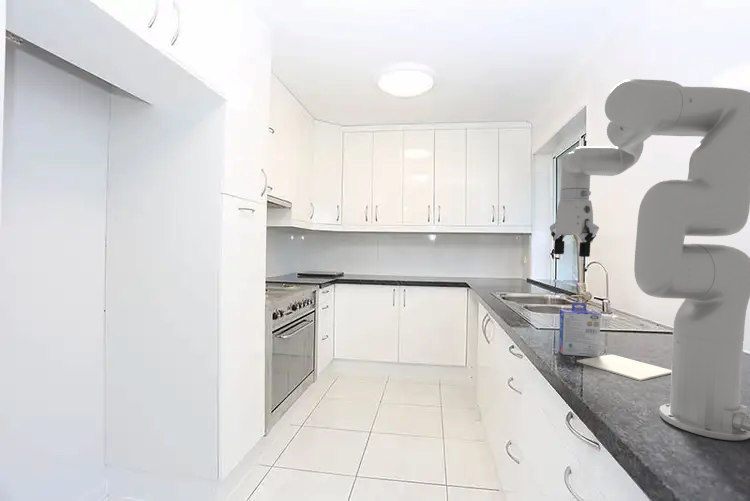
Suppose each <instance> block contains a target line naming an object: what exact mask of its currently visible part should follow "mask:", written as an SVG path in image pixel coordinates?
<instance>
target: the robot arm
mask: <svg viewBox="0 0 750 501" xmlns="http://www.w3.org/2000/svg"><path fill="white" fill-rule="evenodd" d="M604 112H605V116H606V118H607V119H608V120H609V122H608V124H607V127H606V135H607V138H608V139H609V141H610V142H611V144H612V145H614V146H613V147H612V146H587V145H585V146H578V147H575V148H574V149H573V150H571V152H567V153H565V154H564V155H563V156H562V159H561V173H560V174H561V176H560V177H561V178H560V190H559V191H560V193H559V202H558V203H557V204H558V206H557V209H556V215H555V216H556V217H555V222H554V223H553V224H551V225H550V226H549V230H550V235H551V237H552V240H553V241H554V242H553V244H554V245H553V247H554V248H553V254H554V255H565V254H564V253H565V241H564V239H565V238H566V237H567V236H578V237H579V239H580V242H579V252H578V256H579V257H581V258H583V257H584V258H588V257H590V256H591V243H593V241H594V239H595V238H596V237H597V233H598V231H599V229H600V227H599V226H598V225H596V224H595V223H594V213H593V211H594V210H593V203H592V201H591V200H590V196H591V195H592V192H591V191H590V186H591V176H599V177H600V176H602V177H603V176H604V177H606V176H607V177H613V176H618V175H620V174H622V173H624V172H626V171H627V170H629V169H631V168H632V167H633V166H634V165H636V164H637V163H638V162H639V160H640V157H641V156H642V153H643V150H644V142H645V141H646V140H648V139H649V138H650V137H652V136H670V137H702V139H701V140H700V142H699V143H698V144H697V145H696V147H695V148H694V149H693V151H692V153H691V155H690V157H689V163H688V174H687V179H668V180H663V181H659V182H658V183H656V184H654V185H652V186H651V187H650V188H649V189H648V190H647V191H646V192H645V194H644V196H643V198H642V200H641V202H640V205H639V209H638V215H637V226H636V227H637V228H636V239H635V250H634V267H633V269H634V278H635V282H636V284H637V286H638V288H639V289H640V290H641V291H642V293H644V294H646V295H648V296H650V297H653V298H662V299H679V300H680V299H684V300H683V302H682V303H681V305H680V306H679V308H678V310H677V312H676V314H675V315H674V320H673V328H672V329H673V331H672V346H671V347H672V348H671V350H672V351H671V368H670V370H671V374H670V392H669V394H670V395H669V403H665V404H662V405H660V407H659V408H658V414H659V417H661V419H662V420H664V421H665V423H668V424H670V425H671V426H673V427H675V428H679V429H681V430H682V431H686V432H689V433H692V434H695V435H699V436H702V437H707V438H711V439H716V440H722V441H723V440H724V441H745V440H748V439H750V414H749V413H748V406H747V405H744V404H741V390H742V371H743V354H744V353H743V351H744V350H743V349H744V341H745V339H744V338H745V327H746V326H745V324H746V317H747V316H746V315H747V309H748V305H749V300H750V256H749V255H748V254H746V253H745V252H743V251H742V250H740V249H738V248H736V247H732V246H728V245H724V244H711V243H709V244H708V243H707V244H706V243H684V242H685V237H724V236H726V237H727V236H731V235H735V234H737V233H738V232H739V233H740V231H741V230H743V229H744V227H745V226H746V224H747V221H748V218H749V214H750V92H749V91H747V90H743V89H737V88H731V87H713V86H683V85H682V84H680V83H677V81H676V82H675V81H671V80H664V79H662V80H661V79H643V78H642V79H641V78H640V79H639V78H638V79H637V78H630V79H625V80H623V81H621V82H619V83H618V84H616V85H615V86H614V87H613V88H612V90H611V91H610V92H609V93H608V96H607V97H606V100H605V102H604Z"/></svg>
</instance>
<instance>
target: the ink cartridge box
mask: <svg viewBox="0 0 750 501" xmlns="http://www.w3.org/2000/svg"><path fill="white" fill-rule="evenodd" d="M577 306H581V307H577ZM601 316H602V315H601V314H600V312H597V311H591V310H587V307H586V303H585V302H573V301H572V302H571V310H567V309H559V338H558V339H559V340H558V343H559V344H558V351H559V353H560V354H561V355H563V356H565V355H566V356H579V357H580V356H581V357H589V358H593V357H599V356H600V345H601V344H600V338H601V318H602V317H601Z"/></svg>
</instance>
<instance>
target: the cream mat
mask: <svg viewBox="0 0 750 501" xmlns="http://www.w3.org/2000/svg"><path fill="white" fill-rule="evenodd" d="M576 362H577V363H580V364H583V365H587V366H590V367H593V368H596V369H600V370H604V371H607V372H609V373H613V374H616V375H619V376H622V377H625V378H629V379H632V380H636V381H640V382H641V381H645V380H650V379H654V378H658V377H662V376H666V375H671V369H669V368H664V367H661V366H658V365H654V364H649V363H646V362H643V361H638V360H634V359H631V358H627V357H623V356H619V355H616V354H606V355H599V357H589V358H587V357H586V358H583V359H578V360H576Z"/></svg>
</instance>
